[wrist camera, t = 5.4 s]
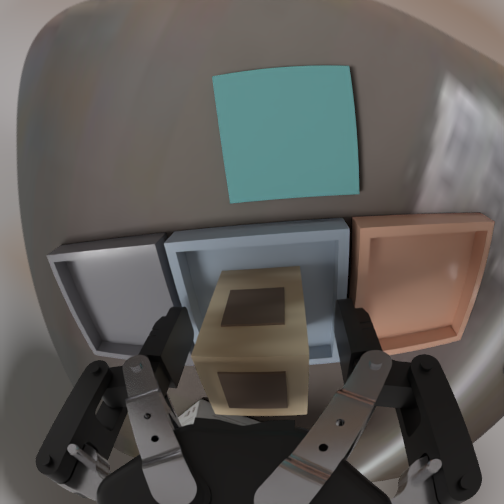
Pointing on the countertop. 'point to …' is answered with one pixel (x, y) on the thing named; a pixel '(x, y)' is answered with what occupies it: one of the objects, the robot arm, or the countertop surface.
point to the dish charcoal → (117, 290)
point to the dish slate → (268, 256)
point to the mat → (288, 132)
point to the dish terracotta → (418, 275)
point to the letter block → (255, 344)
